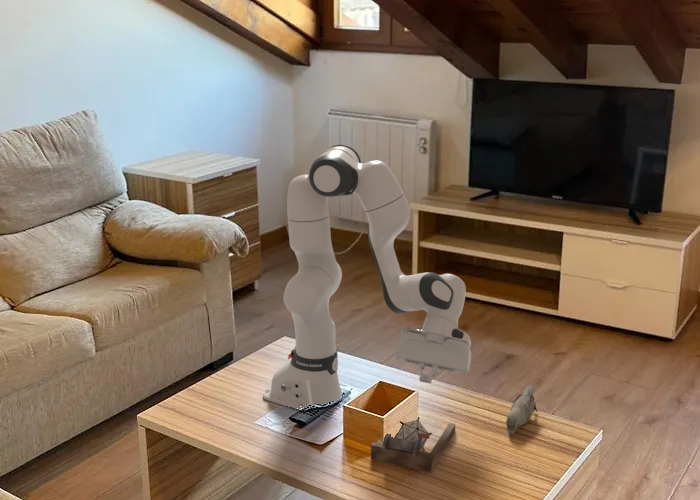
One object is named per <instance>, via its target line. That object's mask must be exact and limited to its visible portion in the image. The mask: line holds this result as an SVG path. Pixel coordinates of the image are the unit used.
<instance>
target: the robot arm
mask: <svg viewBox="0 0 700 500" xmlns="http://www.w3.org/2000/svg"><path fill="white" fill-rule="evenodd" d="M352 194H355V196H356V197H357V198H358V200H359V202H360V203H361V206H362V208H363V211H364V212H365V215H366V218H367V221H368V226H369V228H368V231H367V238H368V239H367V240H368V242H369V243H368V244H369V246H370V247H369V248H370V251H371V253H372V256H373V260H374V262H375V266H376V269H377V272H378V276H379V278H380V282H381V288H382V293H383V299H384V302H385V304H386V306H387V307H388V308H389V309H390V311H392V312H393V313H395V314H398V315H402V314H406V313H407V314H408V313H411V312H414V311H415V312H416V311H424V312H425V313H426V316H425V319H424V322H423V326H422V329H419V328H412V327H406V328H402V329H401V330H400V331H399V334H398V340H397V342H396V344H395V346H394V350H393V356H394V358H395V359H396V361H400V362H403V363H408V364H409V363H410V364H414V365H418V369H419V372H420V373H419V374H420V375H419V378H418V379H419V380H418V381H419V382H421V383H426V384H430V385H431V384H432V381H433V379H434V378H435V377H436V376H437V375H438V374H439V371H440V370H442V371H449V372H453V373H456V374H461V375H465V374H467V373H469V371H470V367H471V362H472V352H471V347H472V341H471V338H470V336H469V334H468V333H467V332H466V331H463V330H462V329H460V328H458V327H459V319H460V317H461V315H462V314H463V309H464V304H465V301H466V300H465V299H466V293H467V292H466V291H467V290H466V289H467V288H466V287H467V286H466V284H465V282H464V281H463V280H462V278H460V277H459V276H458V275H455V274H453V273H443V274H438V273H436V272H431V271H430V272H421V273H420V272H419V273H415V274H410V275H406V274H404V273H403V272H402V270H401V268H400V267H401V266H400V264H399V261H398V258H397V255H396V251H395V248H394V245H395V244H394V243H395V239H396V238H397V237H398V236H399V235H400V234H401V233H402V232H403V231H404V230H405V229H406V228H407V226H408V224H409V223H410V220H411V209H410V208H411V207H410V205H409V201H408V199H407V198H406V195H405V193H404V191H403V189H402V186H401V185H400V183H399V181H398V179H397V177H396V176H395V175H394V172H392V170H391V169H390V167H389V165H388V164H387V163H386V162H384V161H381V160H369V161H367V162H364V163H362V161H361V156H360V155H359V153H358V152H357V151H356V150H355V149H354V148H353V147H351V146H349V145H347V144H335V145H332V146H331V147H329V148H327V149H326V150H324V151H323V152H322V153H320V154H319V156H318V157H317V159H315V160H314V161H313V162H312V164H311V166H310V169H309V172H308V174H300V175H298V176H296V177H294V178H293V179H292V180H290V182H289V184H288V188H287V195H286V197H287V198H286V199H287V200H286V212H287V213H286V215H287V224H288V225H287V226H288V237H289V238H288V239H289V240H288V241H289V247H290V248H291V250H292V251H293V252H294V253H295V256H296V260H297V263H298V270H297V273H296V274H294V276H292V277H291V279H290V280H289V281H288V282H287V284H286V286H285V289H284V292H283V297H282V298H283V303H284V306H285V307H286V309H287V310H288V311H289V312H290V313H291V316H292V321H293V324H294V325H293V326H294V333H295V334H294V335H295V346H294V348H293V349H292V350H291V351H290V353H289V354H288V355H287V360H289V361H287V363H285V364H284V365H282V366H280V368H278V369H277V370H276V371H275V373H274V374H273V375H272V378H271V383H270V384H268V386H267V387H266V388H265V389H264V391H263V399H264V400H266V401H269V402H272V403H274V404H278V405H281V406H284V407H287V406H288V407H287V408H290V407H293V408H298V409H301V408H303V407H305V406H307V405H316V404H325V403H329V402H332V401H336V400H337V399H339V398H340V397H341V396H342V394H343V392H342V388H341V385H340V381H339V374H338V368H339V367H338V366H339V358H338V349H337V346H336V345H337V343H336V342H337V341H336V324H335V321H334V320H333V319H332V317H331V314H330V313H331V312H330V310H329V309H330V308H329V306H330V305H329V304H330V303H329V302H330V298H331V297H332V296H333V295H334V294H335V293H336V292H337V290H338V288H339V287H340V284H341V282H342V277H343V273H342V272H343V271H342V268H341V267H340V264H339V263H338V262H337V260H336V256H335V252H334V248H333V245H332V244H333V243H332V237H331V233H332V232H331V223H330V222H331V220H330V210H329V198H332V197H334V198H335V197H343V196H350V195H352ZM290 359H291V360H290ZM426 367H427V368H432V371H431V372H430V373H429V374H426V373H425V372H424V370H426V369H427V368H426ZM300 406H302V407H300ZM293 408H292V409H293Z"/></svg>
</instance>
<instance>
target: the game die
mask: <svg viewBox="0 0 700 500" xmlns="http://www.w3.org/2000/svg"><path fill="white" fill-rule="evenodd" d="M400 423H401V424H402V426H401V428H400V430H399V432H398V433H397V435H396V436H395V437H394V438H398V439H403V440H408V441H413V442H415V441H416V440H417V439H418V434H419V433H424V434H429V435H433V433H432V432H428V430H427V429H426V428H425V427H424V426H423V424H422V423H421V421H420V416H418V417H417V419H416V420H411V421H408V422H407V421H406V422H405V423H403V422H401V421H400ZM427 440H428V439H427V438H422V449H421V450H422V451H425V447H424V446H425V445H426V443H427Z"/></svg>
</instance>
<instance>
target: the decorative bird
mask: <svg viewBox="0 0 700 500" xmlns="http://www.w3.org/2000/svg"><path fill="white" fill-rule="evenodd" d="M535 390H536V388H535V386H533V385H531V384H529V385H528V386H526V387H525V388H524V390H523V392H522V393H520V394H519V395H518V396H516V398H515V399H514V401H513V402H512V404H511V407H510V411H509V413H508V414H507V417H506V420H505V424H506V425H505V426H506V429H507V430H506V431H507V433H508V435H509V437H512V436H513V435H514V434H515V433H516V431H517V430H518V428H519V427H520V426H522V425H524V424H526V423H527V422H529V421H530V420H531V418H532V415H533V413H535V411H536V413H539V412H538V410H537V406H536V403H537V401H536V402H535V397H534V393H535Z"/></svg>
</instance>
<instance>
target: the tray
mask: <svg viewBox="0 0 700 500" xmlns="http://www.w3.org/2000/svg"><path fill="white" fill-rule="evenodd" d="M455 434H456V424H455V423H448V424H447V425H446V427H445V429H444V430H443V432H442V433H441V434H440V436H439V438H438V440H437V441H436V443H435V444H434V446H433V448H432V449H431V451H430V452H429V453H428V452H423V451H421V450H423V449H422V438H427V440H428V439H430V435H429V434H424V433H419V434H418V439H417V440H416V441H415V442H413V441H408V440H403V439H398V438H393V437H391V434H388V433H387V434H386V435H385V437H384V441H380V440H379V439H378V440H377V442H374V441H373V442H372V443H371V444H370V460H372V461H377V462H380V463H386V464H391V465H396V466H399V467H404V468H408V469H413V470H417V471H418V470H419V471H424V472H428V473H433V471H434V469H435V468H436V466H437V464H438V462H439V460H440V459H441V458H442V456H443V454H444V453H445V451H446V450H447V447H448V446H449V444H450V443H451V441H452V439H453V438H454V436H455Z"/></svg>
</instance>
